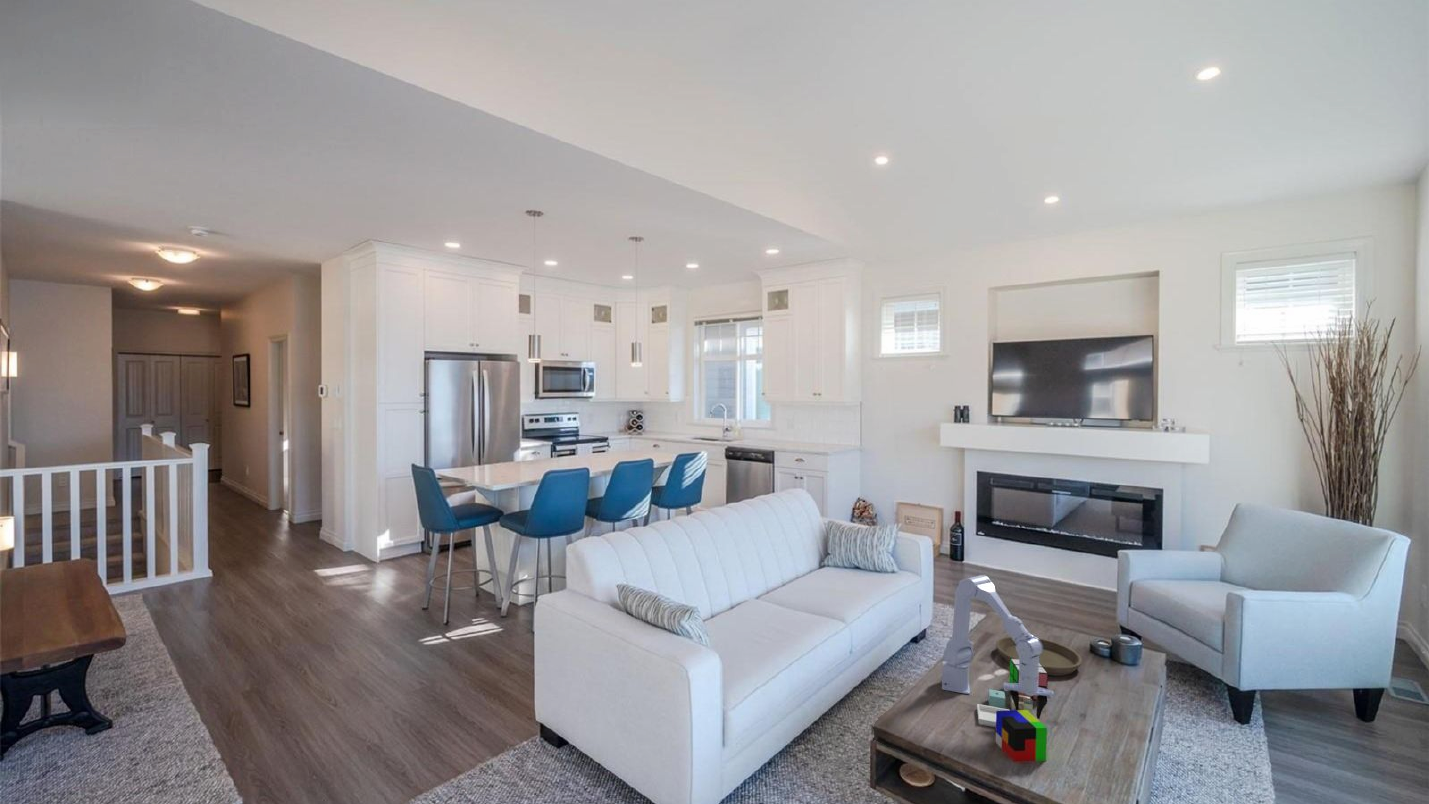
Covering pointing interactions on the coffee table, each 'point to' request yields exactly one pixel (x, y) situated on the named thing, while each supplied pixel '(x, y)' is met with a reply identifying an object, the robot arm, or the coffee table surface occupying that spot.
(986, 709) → the tray
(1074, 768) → the coffee table surface
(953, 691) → the robot arm
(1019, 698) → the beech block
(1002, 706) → the teal block
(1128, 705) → the coffee table surface
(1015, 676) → the puzzle cube
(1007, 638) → the plant saucer
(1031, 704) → the brushed steel block
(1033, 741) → the puzzle toy
